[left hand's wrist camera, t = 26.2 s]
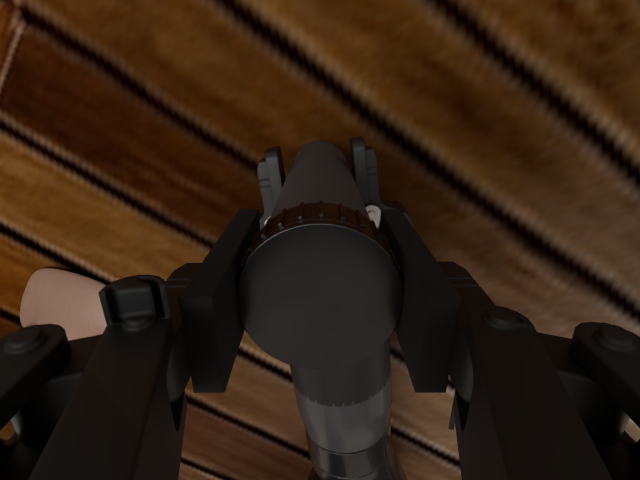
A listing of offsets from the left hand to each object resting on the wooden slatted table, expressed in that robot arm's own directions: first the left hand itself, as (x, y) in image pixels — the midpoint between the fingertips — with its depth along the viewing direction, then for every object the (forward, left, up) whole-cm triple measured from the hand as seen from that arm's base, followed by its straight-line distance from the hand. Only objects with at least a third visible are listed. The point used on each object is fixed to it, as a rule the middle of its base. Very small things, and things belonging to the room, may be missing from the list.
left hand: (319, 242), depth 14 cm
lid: (0, 0, +4) cm, 4 cm away
